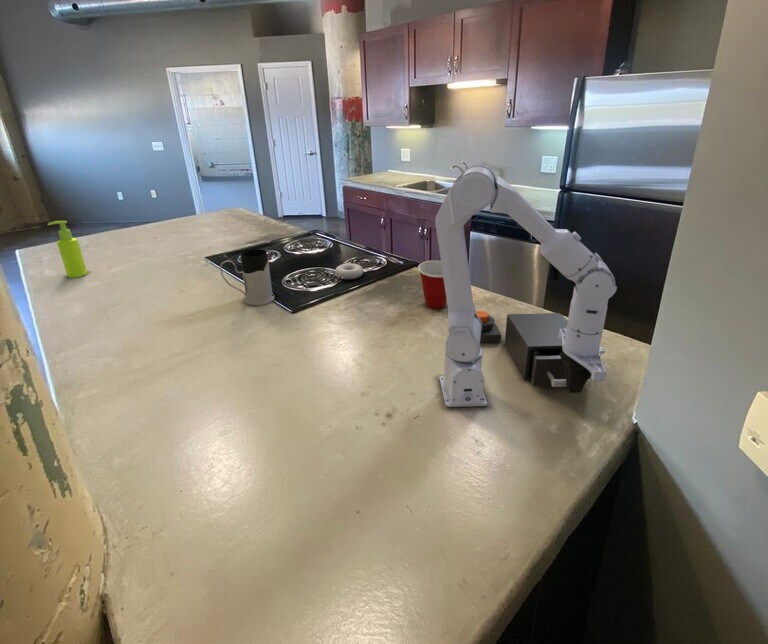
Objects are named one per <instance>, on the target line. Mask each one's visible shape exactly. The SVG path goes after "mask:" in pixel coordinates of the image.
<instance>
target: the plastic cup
mask: <svg viewBox="0 0 768 644" xmlns="http://www.w3.org/2000/svg"><path fill="white" fill-rule="evenodd" d="M417 270H418V272H419V275H420V279H421V285H422V292H423V297H424V302H425V306H426V307H428V308H430V309H434V310H438V309H443V308H444V307H446V304H447V298H446V292H445V285H444V278H443V271H442V265H441V260H426V261H423V262H421V263H419V264H418V265H417Z"/></svg>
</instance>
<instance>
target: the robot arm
mask: <svg viewBox="0 0 768 644" xmlns="http://www.w3.org/2000/svg"><path fill="white" fill-rule="evenodd" d="M488 207H490V208H489V213H493V214H494V213H495V214H506V215H507V216H509V217H510V218H511V219H512V220H513V221H515V222H516V223H517V224H518V225H520V226H521V228H523V230H525V231H526V232H527V233H528V234H529V235H531V236H532V237H533V238H534V239H536V240H537V241H538V243H540V254H541V256H543V257H544V258H545V260H547V261H548V262H549V263H550V264H551V265H552V266H553V268H555V269H557V271H558V272H559V273H560V274H562V275H563V276H564V277H565V278H566V279H567V280H570V281H572V282H573V283H575V285H574V287H573V292H572V298H571V300H570V304H569V305H570V306H569V312H568V318H567V321H568V324H567V329H559V336H558V338H559V339H560V340H562V349H563V352H561V353H560V357H561V360H562V362H563V365H564V370H565V376H566V385H567V387H566V389H567V391H568V393H570V394H580V393H582V391H583V389H584V388H585V386H584V385H585V383H586V382H587V380H588V379H589V378H590V376H591V378H590V380H592V381H593V382H606V378H607V374H608V371H607V369H605V366H604V363H603V359H602V355H604V354H605V352H606V349H605V348H604V347H603V346H602V345H601V343H602V339H603V333H604V327H605V321H606V318H607V312H608V303H609V299H610V298H612V297H613V296H614V295H615V293H616V292H617V290H618V286H617V285H616V280H615V279H616V277H615V276H614V274H613V273H612V271H611V269H609V267H608V265H607V264H606V263H605V262H604V260H603V258H601V256H600V255H599V254H598V253H597V252H594V253H593V252H592V251H591V250H590V249H589V248H588V247H587V246H585V244H583V243H582V242H581V240H582V237H581V236H580V234H579V233H577V232H576V231H573V232H571V231H570V230H569V229H567V228H555V227H553V226H552V225H551V223H550V222H548V220H546V219H545V217H544V216H543V215H542V214H541V213H539V211H538V210H537V209H536V208H535V207H534V206H533V205H532V204H531V203H530V202H529V201H528V200H527V199H526V198H525V197H524V196H523V195H522V194H521V193H520V192H519V190H517V189H516V188H515V187H513V186H512V185H511V184H510V183H509V182H508V181H506V180H505V179H503V178H502V177H501V176H499V175H495V173H494V171H493V170H492V169H491V168H489V167H487V166H486V165H482V164H475V165H471V166H469V167H468V168H467V169H465V170H464V171H463V172H462V173H461V174H460V175H459V176H458V177H457V178H456V179H455V180H454V182H453V184H452V186H450V188H449V190H448V192H447V194H446V195H445V198H444V200H443V201H442V204H441V206H440V207H439V210H438V212H437V213H436V215H435V219H434V223H435V230H436V231H435V232H436V235H437V236H436V237H437V243H438V250H439V258H440V261H441V265H442V271H443V278H444V285H445V292H446V298H447V301H446V304H447V331H448V335H447V338H446V341H445V348H444V367H443V368H444V369H443V370H444V371H443V375H440V376H439V382H440V387H441V392H442V395H443V400H444V404H445V406H446V407H447V408H460V407H461V408H464V407H486V406H488V401H487V399H486V395H485V393H484V387H485V376H484V373H483V370H482V364H483V348H482V346H481V343H480V337H481V332H482V322H481V320H480V318H479V317H478V315H477V314H476V311H477V310H476V305H475V303H474V299H473V298H474V297H473V291H472V283H471V276H470V275H471V274H470V268H469V267H470V266H469V260H468V251H467V244H466V235H465V227H464V226H465V225H466V223H467V222H468V221H469V220H470V219H471V218H472V217H473V216H474V215H476V214H477V213H480V212H481V211H483V210H485V209H486V208H488Z"/></svg>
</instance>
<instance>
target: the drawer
mask: <svg viewBox="0 0 768 644" xmlns="http://www.w3.org/2000/svg"><path fill="white" fill-rule="evenodd" d="M561 352H563V349H540V350H531V358H530V366H529V372H530V374H531V376H532V380H530V384H531V385H532V387H553V388H565V387H566V388H567V385H566V376H565V370H564V365H563V362H562V360H561V357H560V353H561ZM591 383H592V382H591V376H590V378H589V379H588V380H587V382H586V383H585V385H584V387H591Z"/></svg>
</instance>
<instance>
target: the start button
mask: <svg viewBox="0 0 768 644" xmlns="http://www.w3.org/2000/svg"><path fill="white" fill-rule="evenodd" d="M476 314H477V315H478V317H479V318H480V320H481V322H482V323H486V322H488V315H489V312H487V311H484V310H476Z"/></svg>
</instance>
